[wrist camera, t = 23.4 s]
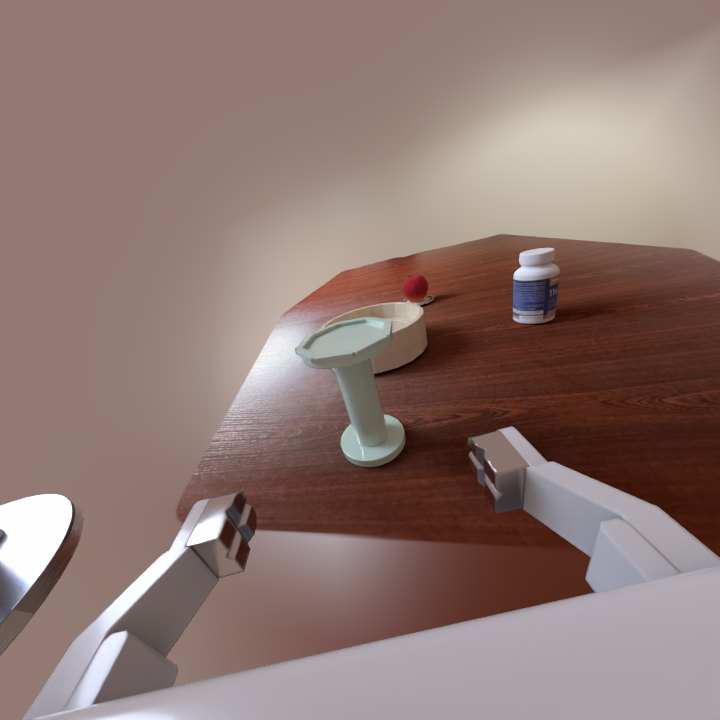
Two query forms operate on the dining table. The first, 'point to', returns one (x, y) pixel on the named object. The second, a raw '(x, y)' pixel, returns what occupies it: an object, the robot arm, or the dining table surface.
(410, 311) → the bowl
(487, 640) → the robot arm
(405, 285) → the apple
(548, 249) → the pill bottle
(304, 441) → the dining table surface
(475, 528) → the dining table surface
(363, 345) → the pedestal stand
